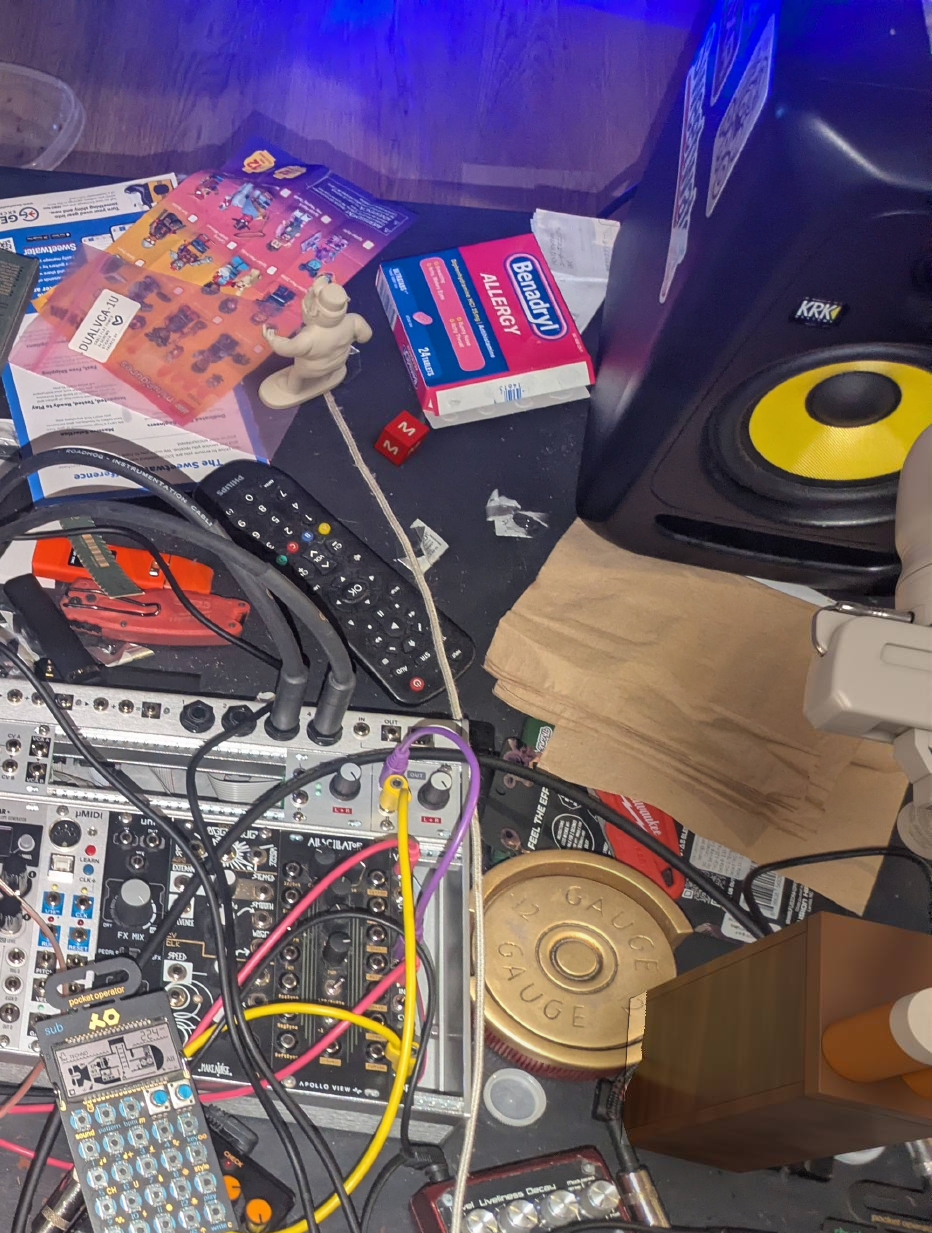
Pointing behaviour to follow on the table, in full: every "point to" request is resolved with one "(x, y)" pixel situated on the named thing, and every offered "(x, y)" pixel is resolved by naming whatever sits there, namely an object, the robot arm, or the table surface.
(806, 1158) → the wooden crate
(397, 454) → the dice
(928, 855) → the pill bottle
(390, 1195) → the table surface
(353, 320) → the figurine
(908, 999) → the amber bottle
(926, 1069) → the amber bottle
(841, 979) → the shelf
